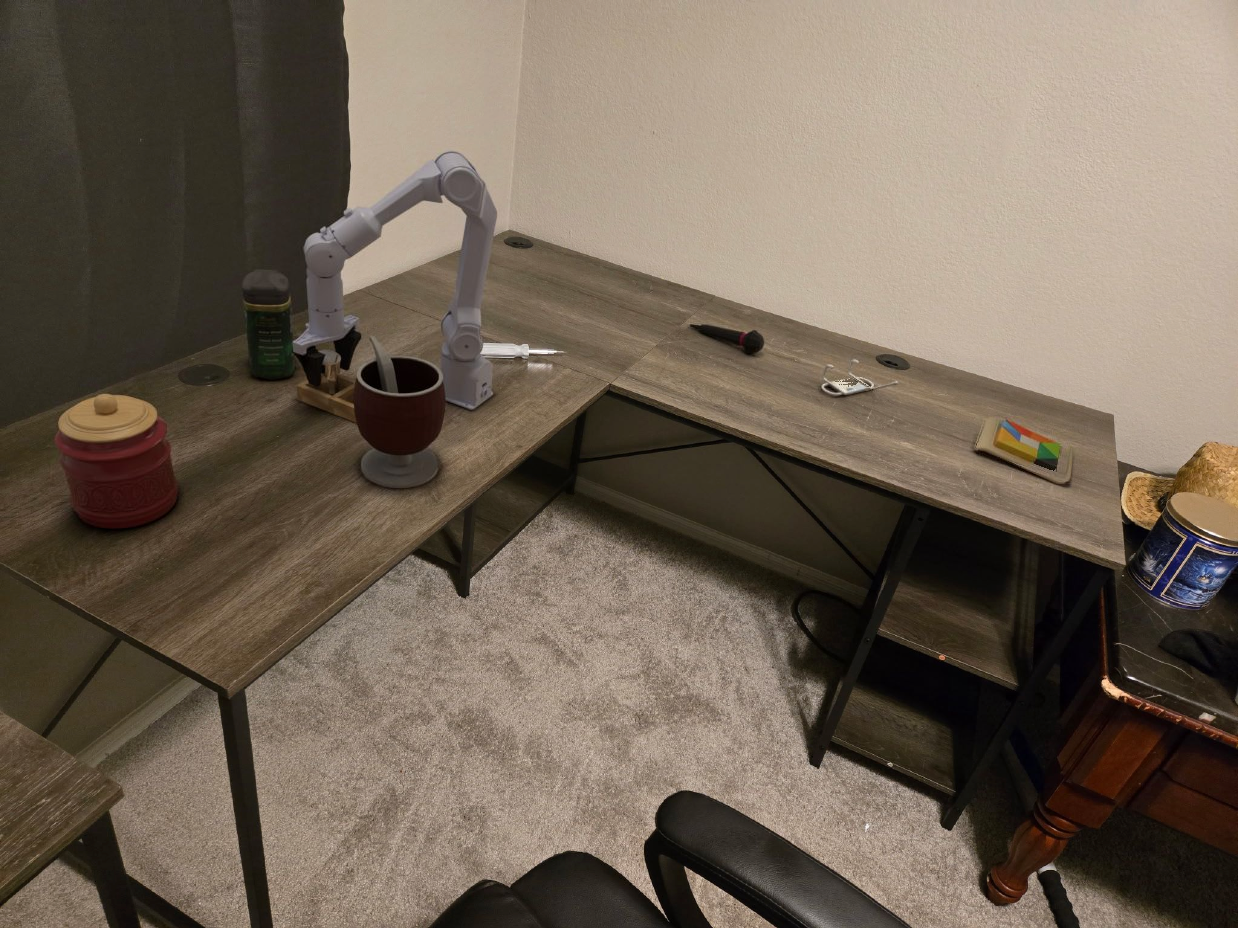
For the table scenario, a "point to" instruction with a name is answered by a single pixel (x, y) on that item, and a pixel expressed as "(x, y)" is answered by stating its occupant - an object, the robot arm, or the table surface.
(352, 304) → the table surface
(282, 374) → the coffee jar
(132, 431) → the kitchen canister
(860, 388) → the wall mount rack
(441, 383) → the mate gourd
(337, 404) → the rack
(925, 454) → the table surface
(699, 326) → the microphone
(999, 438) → the wooden puzzle
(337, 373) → the milkshake
